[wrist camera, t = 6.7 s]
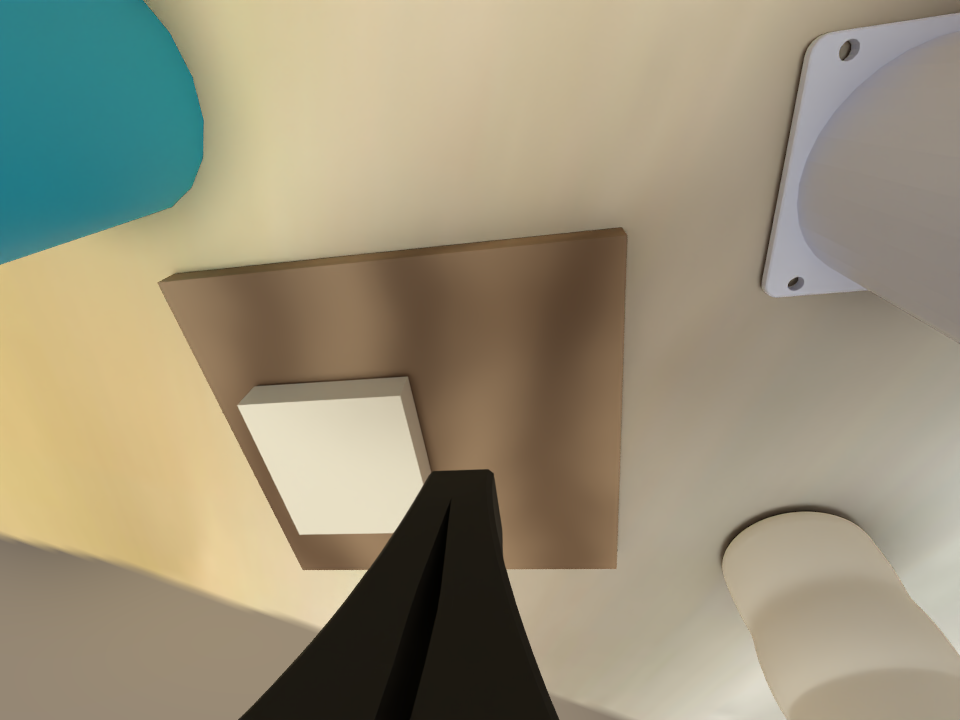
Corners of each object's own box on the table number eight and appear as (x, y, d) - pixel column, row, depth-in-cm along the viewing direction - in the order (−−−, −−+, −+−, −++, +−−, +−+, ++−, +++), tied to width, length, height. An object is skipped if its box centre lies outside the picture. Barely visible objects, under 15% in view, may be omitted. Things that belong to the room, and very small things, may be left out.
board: (621, 227, 16) (627, 234, 16) (613, 552, 25) (616, 568, 25) (173, 273, 19) (157, 282, 18) (309, 555, 28) (302, 569, 27)
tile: (400, 395, 18) (237, 405, 19) (435, 532, 22) (299, 534, 23) (408, 374, 19) (256, 384, 20) (441, 507, 23) (311, 510, 24)
